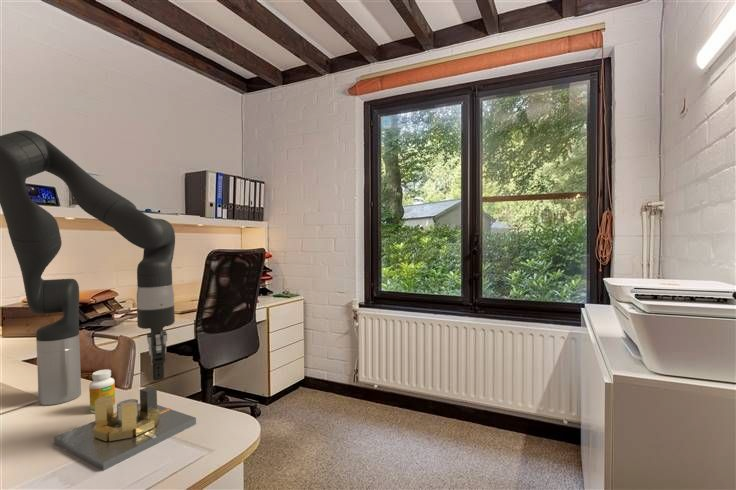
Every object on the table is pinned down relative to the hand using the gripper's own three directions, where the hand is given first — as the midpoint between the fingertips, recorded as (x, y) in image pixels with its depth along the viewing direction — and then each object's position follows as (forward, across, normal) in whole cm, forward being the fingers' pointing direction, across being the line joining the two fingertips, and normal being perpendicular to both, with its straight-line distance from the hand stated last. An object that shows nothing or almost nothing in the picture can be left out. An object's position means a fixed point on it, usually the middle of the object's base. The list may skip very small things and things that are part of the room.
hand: (158, 378), depth 88 cm
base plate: (+12, +1, +6) cm, 13 cm away
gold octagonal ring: (+10, +1, +6) cm, 12 cm away
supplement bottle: (+12, +19, +12) cm, 26 cm away
